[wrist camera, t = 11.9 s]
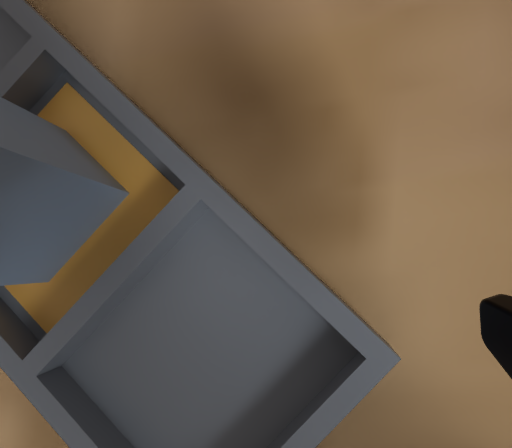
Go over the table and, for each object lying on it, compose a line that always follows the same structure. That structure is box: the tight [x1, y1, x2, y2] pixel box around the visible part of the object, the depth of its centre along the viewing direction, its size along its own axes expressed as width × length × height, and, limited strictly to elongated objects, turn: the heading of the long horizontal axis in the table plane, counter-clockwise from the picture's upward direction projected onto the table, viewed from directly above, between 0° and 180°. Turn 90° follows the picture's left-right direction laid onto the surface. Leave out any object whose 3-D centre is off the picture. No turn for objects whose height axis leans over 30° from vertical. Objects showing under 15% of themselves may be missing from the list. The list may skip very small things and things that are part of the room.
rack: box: [0, 0, 401, 448], centre depth 19 cm, size 27×11×2 cm, turn 46°
